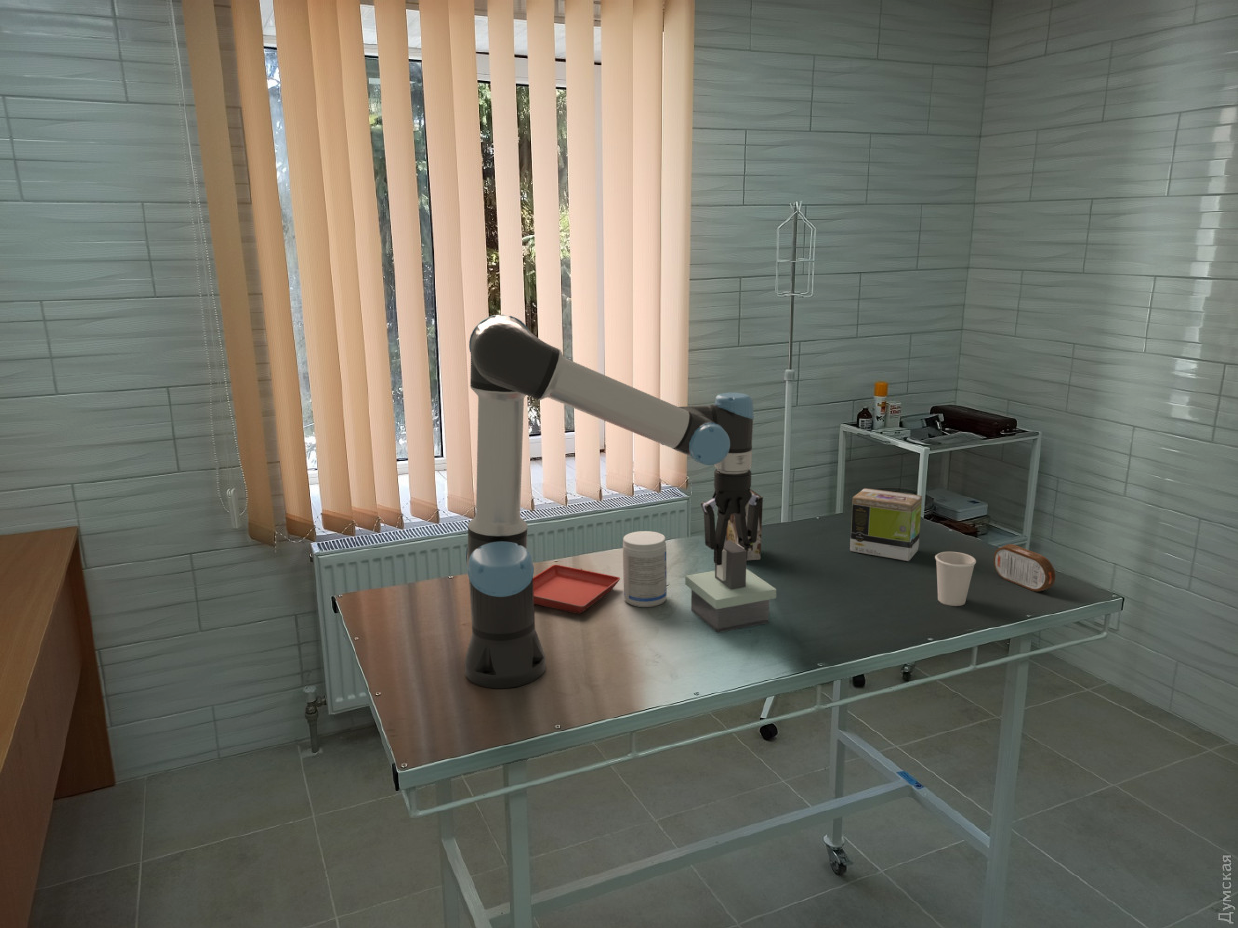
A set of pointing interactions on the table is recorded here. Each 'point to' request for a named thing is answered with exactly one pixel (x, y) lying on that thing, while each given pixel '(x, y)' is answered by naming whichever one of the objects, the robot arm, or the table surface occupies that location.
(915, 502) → the tea box
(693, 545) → the table surface
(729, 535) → the coffee box
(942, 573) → the dixie cup
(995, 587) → the table surface
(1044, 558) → the tin
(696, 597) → the instrument box
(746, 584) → the lid
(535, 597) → the plant saucer
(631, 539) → the supplement tub
